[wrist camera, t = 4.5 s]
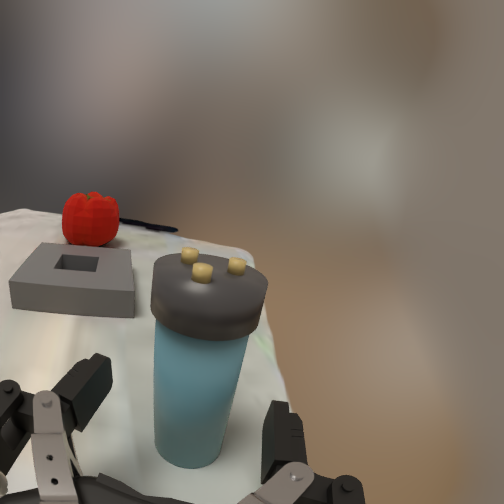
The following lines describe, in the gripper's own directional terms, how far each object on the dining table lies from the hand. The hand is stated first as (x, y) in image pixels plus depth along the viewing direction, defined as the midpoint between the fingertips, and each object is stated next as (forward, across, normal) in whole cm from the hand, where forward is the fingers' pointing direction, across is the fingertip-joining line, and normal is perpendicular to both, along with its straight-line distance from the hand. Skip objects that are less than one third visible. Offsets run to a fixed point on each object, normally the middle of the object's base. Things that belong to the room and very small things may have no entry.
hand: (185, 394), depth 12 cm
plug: (+2, 0, +7) cm, 8 cm away
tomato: (+39, +32, +8) cm, 52 cm away
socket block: (+20, +21, +8) cm, 30 cm away
